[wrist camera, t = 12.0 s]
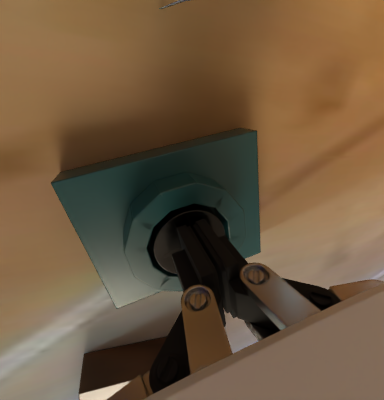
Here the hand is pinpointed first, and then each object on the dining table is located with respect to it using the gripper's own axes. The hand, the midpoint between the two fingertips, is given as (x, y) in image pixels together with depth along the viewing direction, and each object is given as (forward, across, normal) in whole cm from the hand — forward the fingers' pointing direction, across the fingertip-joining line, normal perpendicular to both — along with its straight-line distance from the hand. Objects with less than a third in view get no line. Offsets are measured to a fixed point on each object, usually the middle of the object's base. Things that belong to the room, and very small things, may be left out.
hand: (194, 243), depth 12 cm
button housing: (+4, 0, 0) cm, 4 cm away
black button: (+2, 0, 0) cm, 2 cm away
